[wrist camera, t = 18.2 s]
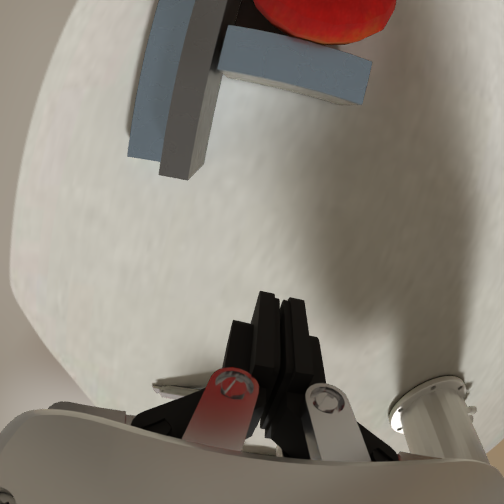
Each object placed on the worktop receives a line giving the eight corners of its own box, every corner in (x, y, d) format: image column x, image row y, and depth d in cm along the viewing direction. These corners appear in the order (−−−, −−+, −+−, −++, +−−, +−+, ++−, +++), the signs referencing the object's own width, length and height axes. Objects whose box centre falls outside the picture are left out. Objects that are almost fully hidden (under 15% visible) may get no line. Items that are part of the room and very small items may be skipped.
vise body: (370, -39, 17) (394, -66, 12) (316, 189, 26) (330, 211, 21) (193, -72, 16) (177, -105, 11) (136, 152, 25) (105, 166, 20)
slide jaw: (348, 70, 22) (372, 61, 16) (340, 105, 23) (362, 104, 18) (236, 43, 21) (228, 25, 16) (227, 77, 22) (217, 68, 17)
